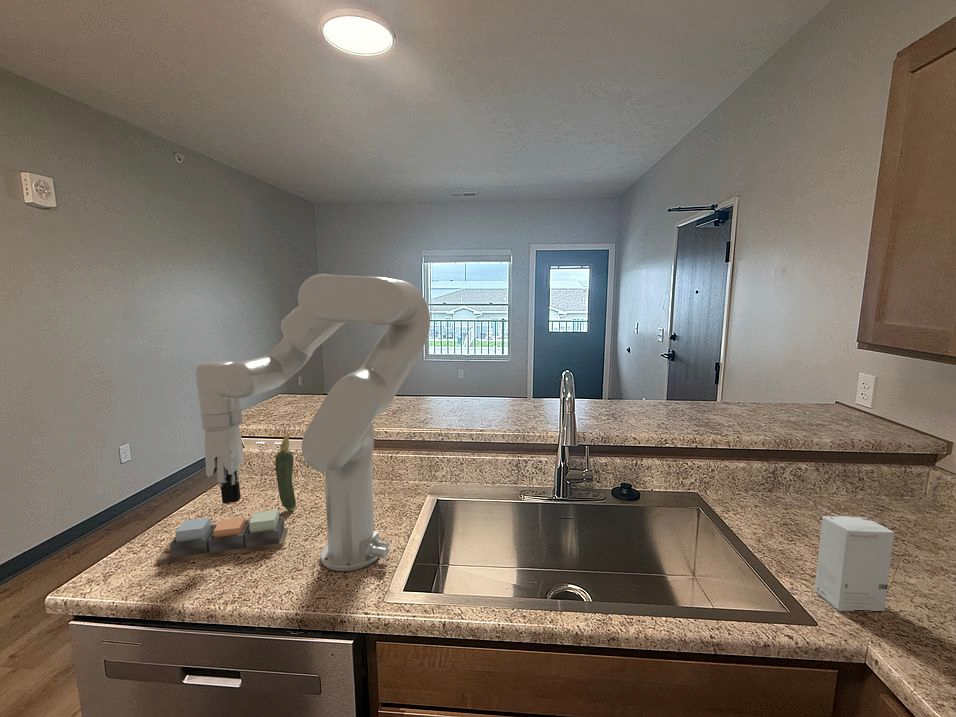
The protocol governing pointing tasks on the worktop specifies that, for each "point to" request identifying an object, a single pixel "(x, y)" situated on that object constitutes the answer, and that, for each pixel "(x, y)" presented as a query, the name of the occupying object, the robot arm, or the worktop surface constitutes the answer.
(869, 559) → the skincare box
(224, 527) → the terracotta key
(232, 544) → the gray compartment tray
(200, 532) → the slate key
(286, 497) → the vegetable
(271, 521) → the sage key
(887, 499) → the worktop surface
